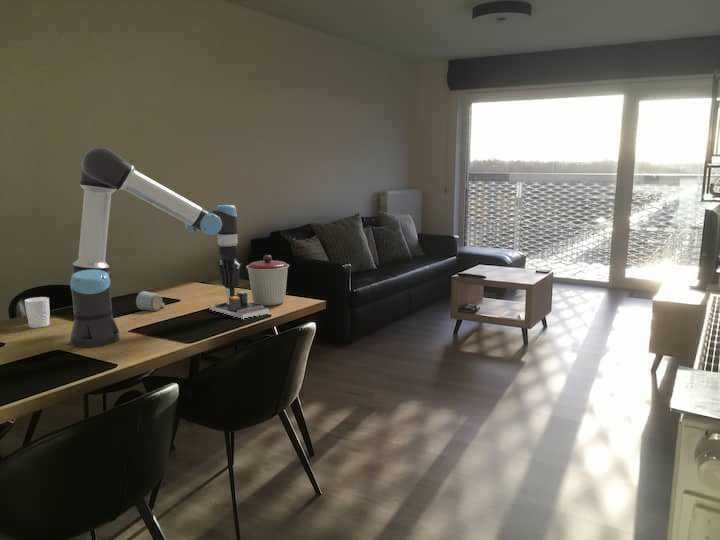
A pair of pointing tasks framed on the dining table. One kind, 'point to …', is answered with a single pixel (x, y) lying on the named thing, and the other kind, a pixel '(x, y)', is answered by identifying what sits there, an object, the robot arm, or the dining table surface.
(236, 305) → the toggle
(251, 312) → the serrated grey base plate
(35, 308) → the white cup
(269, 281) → the canister
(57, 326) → the dining table surface
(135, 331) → the dining table surface
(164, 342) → the dining table surface
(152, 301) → the ceramic mug
